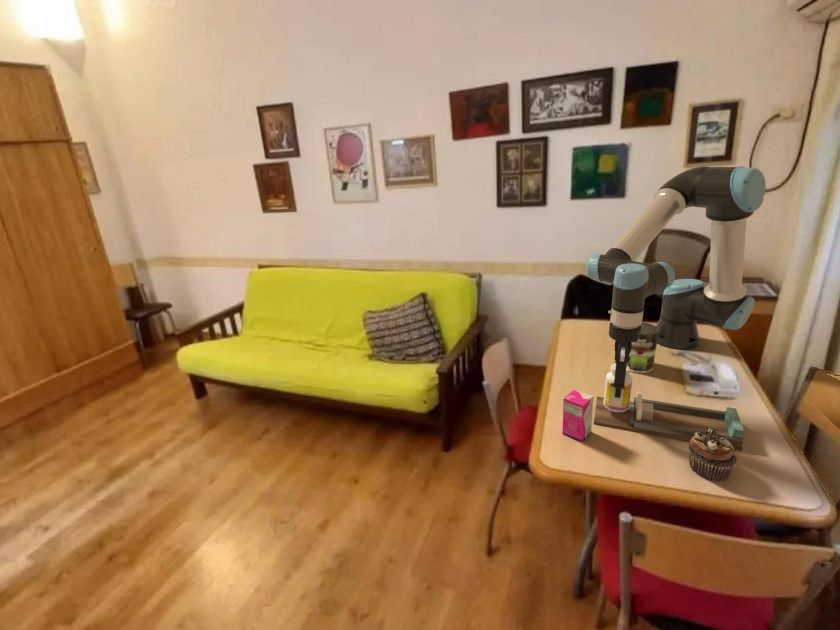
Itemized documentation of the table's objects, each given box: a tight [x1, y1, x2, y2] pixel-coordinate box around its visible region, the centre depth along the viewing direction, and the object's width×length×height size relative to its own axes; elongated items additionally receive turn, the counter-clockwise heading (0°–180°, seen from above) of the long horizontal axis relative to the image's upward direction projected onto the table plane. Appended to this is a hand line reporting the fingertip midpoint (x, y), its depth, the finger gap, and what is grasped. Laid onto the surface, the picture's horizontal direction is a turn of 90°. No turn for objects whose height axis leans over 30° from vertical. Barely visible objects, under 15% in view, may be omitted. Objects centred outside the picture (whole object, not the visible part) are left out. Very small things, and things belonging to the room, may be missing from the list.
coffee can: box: [627, 321, 659, 374], centre depth 145 cm, size 10×10×14 cm
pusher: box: [636, 391, 654, 421], centre depth 120 cm, size 9×4×5 cm, turn 156°
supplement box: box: [561, 389, 594, 443], centre depth 116 cm, size 6×6×12 cm
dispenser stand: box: [593, 396, 745, 452], centre depth 119 cm, size 13×34×5 cm, turn 66°
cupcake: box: [688, 428, 738, 482], centre depth 101 cm, size 10×10×10 cm
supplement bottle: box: [603, 362, 633, 412], centre depth 121 cm, size 7×7×13 cm
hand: (616, 398), depth 123 cm, fingers closed on supplement bottle, 7 cm apart
